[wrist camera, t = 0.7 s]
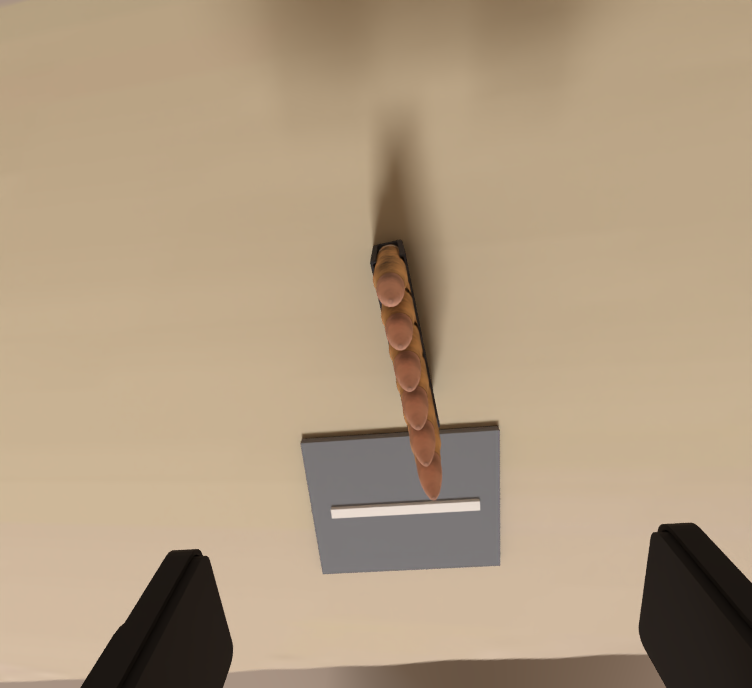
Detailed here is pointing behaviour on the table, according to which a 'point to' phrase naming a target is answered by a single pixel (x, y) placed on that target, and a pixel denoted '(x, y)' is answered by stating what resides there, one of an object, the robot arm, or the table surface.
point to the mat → (404, 502)
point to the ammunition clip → (409, 360)
